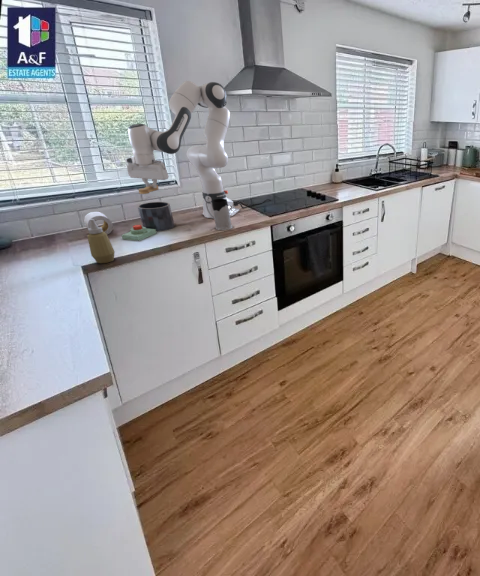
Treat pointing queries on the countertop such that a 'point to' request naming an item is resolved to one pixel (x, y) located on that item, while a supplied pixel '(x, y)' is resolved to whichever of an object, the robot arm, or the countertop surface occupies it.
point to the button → (137, 227)
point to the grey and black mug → (220, 214)
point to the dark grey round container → (156, 215)
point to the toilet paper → (96, 216)
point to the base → (138, 234)
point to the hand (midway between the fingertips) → (151, 187)
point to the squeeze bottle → (99, 244)
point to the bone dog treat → (147, 190)
